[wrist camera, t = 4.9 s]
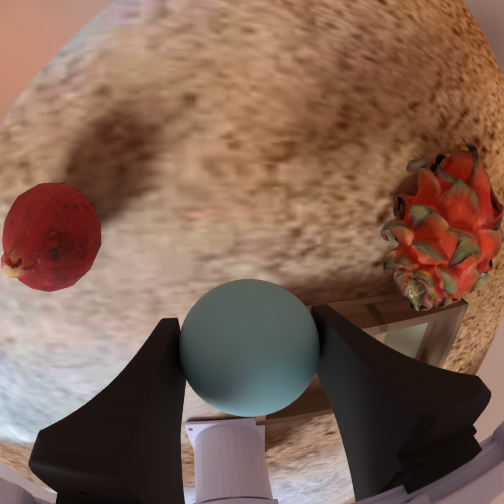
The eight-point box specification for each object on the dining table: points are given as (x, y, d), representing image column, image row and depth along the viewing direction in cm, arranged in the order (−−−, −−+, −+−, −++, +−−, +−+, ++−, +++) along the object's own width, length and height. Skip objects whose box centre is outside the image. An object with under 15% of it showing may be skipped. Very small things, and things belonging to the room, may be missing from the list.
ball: (296, 346, 14) (327, 429, 9) (192, 356, 13) (190, 446, 9) (302, 251, 12) (353, 327, 7) (175, 261, 11) (155, 347, 7)
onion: (117, 172, 16) (54, 207, 9) (118, 260, 18) (74, 335, 11) (40, 172, 15) (-40, 206, 8) (46, 253, 17) (-15, 316, 10)
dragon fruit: (361, 277, 23) (409, 143, 21) (448, 317, 20) (495, 183, 18) (353, 298, 15) (420, 99, 13) (477, 354, 12) (540, 160, 10)
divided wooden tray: (421, 361, 27) (436, 382, 24) (248, 398, 25) (252, 427, 22) (449, 282, 23) (471, 301, 20) (243, 311, 21) (248, 342, 18)
